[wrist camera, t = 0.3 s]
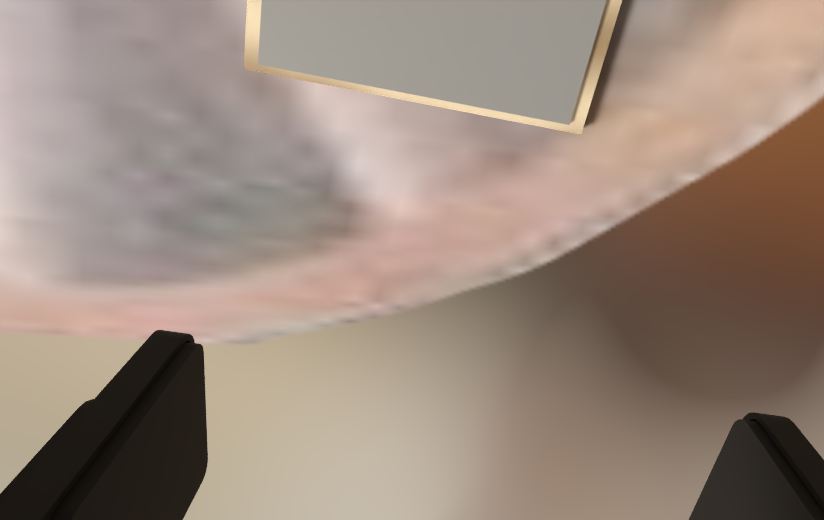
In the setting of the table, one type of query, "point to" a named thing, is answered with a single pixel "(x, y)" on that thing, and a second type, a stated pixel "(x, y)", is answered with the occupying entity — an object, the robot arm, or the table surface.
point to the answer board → (443, 52)
